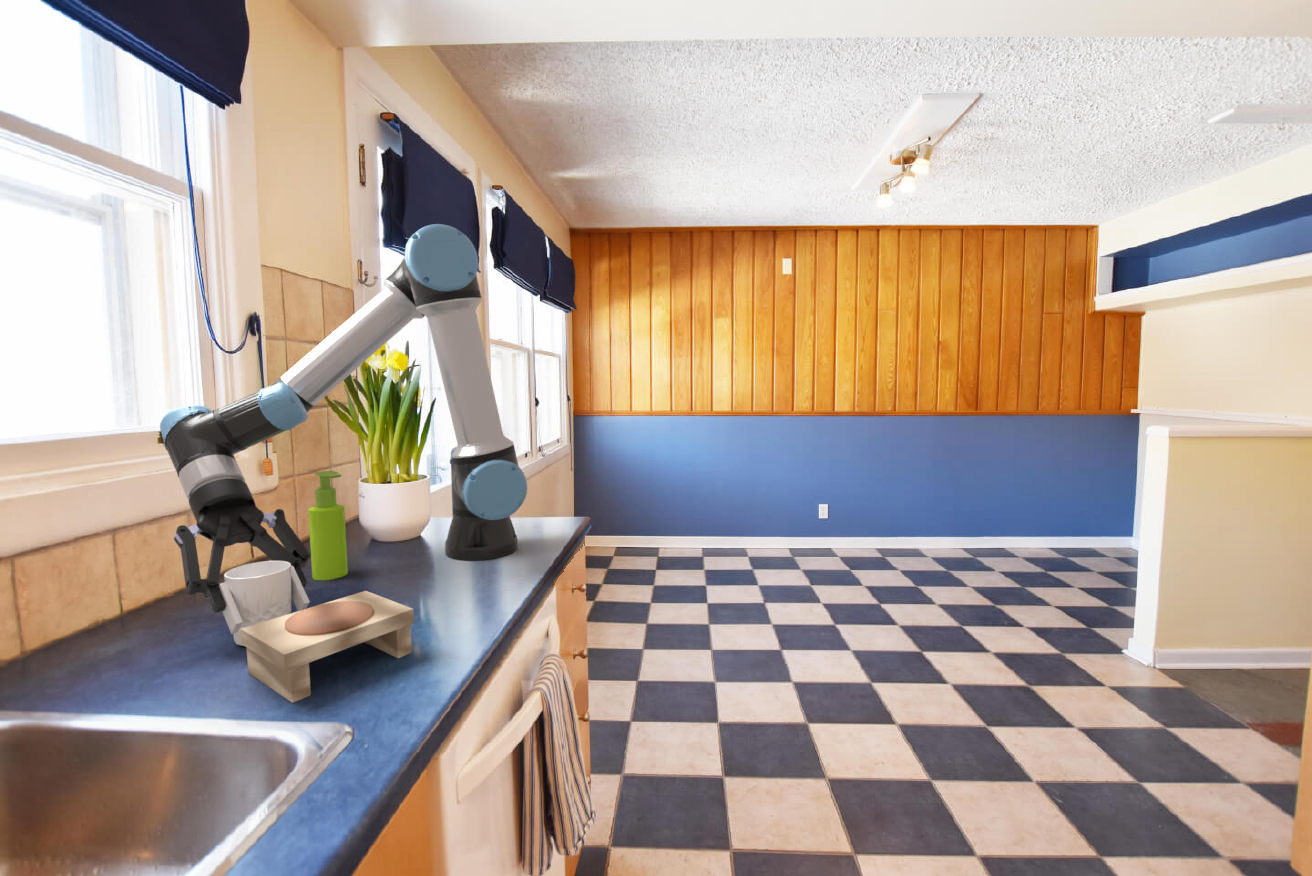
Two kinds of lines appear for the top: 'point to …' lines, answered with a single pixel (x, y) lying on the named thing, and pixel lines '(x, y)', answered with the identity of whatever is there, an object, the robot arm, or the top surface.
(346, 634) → the birch shelf
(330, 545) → the soap dispenser
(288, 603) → the white cup
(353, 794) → the top surface
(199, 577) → the robot arm
